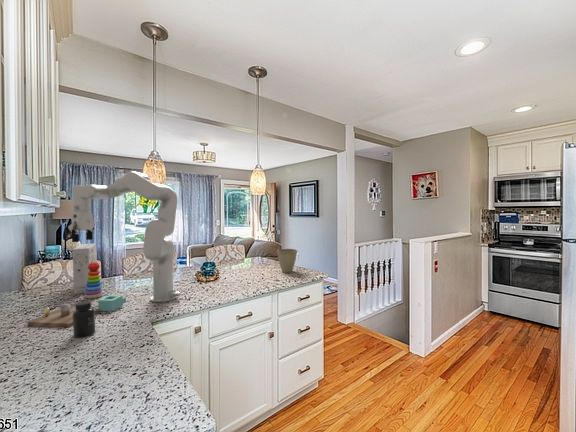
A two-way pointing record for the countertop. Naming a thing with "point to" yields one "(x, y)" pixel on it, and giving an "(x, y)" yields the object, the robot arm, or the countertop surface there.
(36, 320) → the post base
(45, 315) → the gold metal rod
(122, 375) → the countertop surface
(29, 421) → the countertop surface
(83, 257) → the cereal box
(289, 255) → the plant pot
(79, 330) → the supplement bottle
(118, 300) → the teal square scoop
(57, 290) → the countertop surface
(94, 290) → the stacking toy
